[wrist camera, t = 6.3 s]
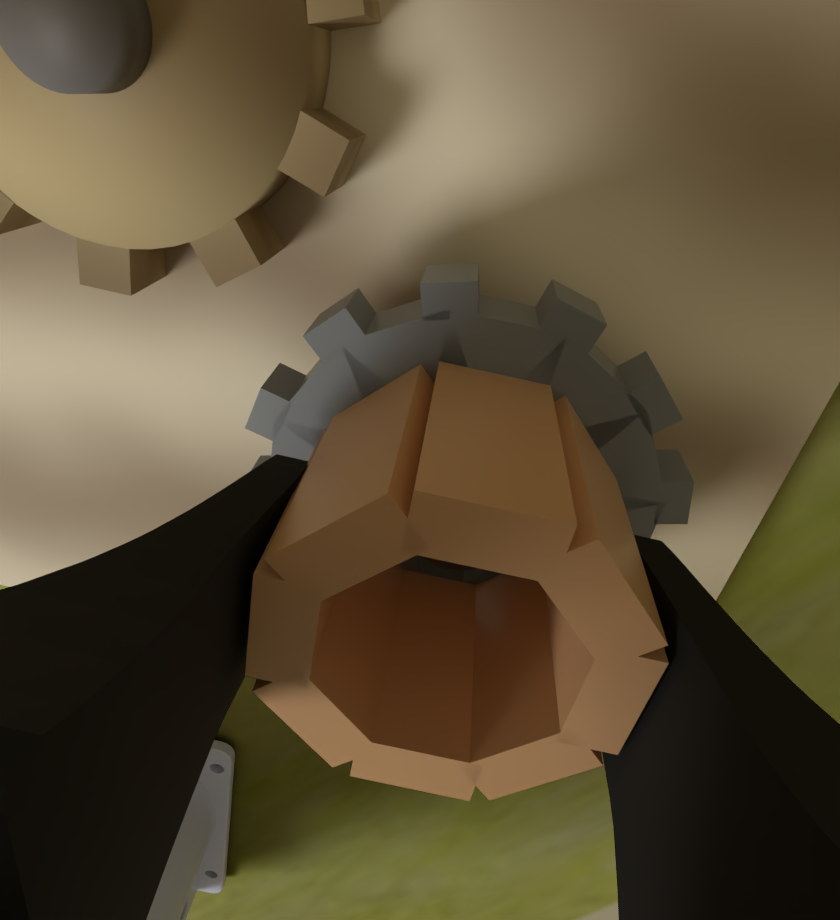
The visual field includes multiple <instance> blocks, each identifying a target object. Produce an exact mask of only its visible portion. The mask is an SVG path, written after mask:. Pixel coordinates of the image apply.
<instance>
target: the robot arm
mask: <svg viewBox="0 0 840 920" xmlns="http://www.w3.org/2000/svg"><path fill="white" fill-rule="evenodd" d="M307 463H308V461H305V460H301V459H296V458H292V457H287V456H283V455H278V454H276V455H274V456H273V457H271V458H270V459H268V460H266V461H265V462H263V463H262V464H260V465H259V466H257V467H256V468H254V469H253V470H251V471H250V472H248V473H247V474H245V475H244V476H242V477H241V478H239V479H238V480H236V481H235V482H233V483H232V484H230V485H228V486H227V487H225V488H224V489H222V490H221V491H219V492H217V493H216V494H214V495H213V496H211V497H209V498H208V499H206V500H205V501H203V502H201V503H200V504H198V505H196V506H195V507H193V508H192V509H190V510H188V511H186V512H185V513H183V514H181V515H179V516H177V517H175V518H174V519H172V520H170V521H168V522H166V523H165V524H163V525H161V526H159V527H157V528H155V529H154V530H152V531H150V532H148V533H146V534H144V535H142V536H140V537H138V538H135V539H133V540H131V541H129V542H127V543H125V544H123V545H120V546H118V547H116V548H113V549H111V550H109V551H106V552H104V553H102V554H99V555H97V556H95V557H92V558H90V559H87V560H85V561H82V562H80V563H77V564H74V565H72V566H69V567H66V568H63V569H60V570H57V571H55V572H52V573H49V574H46V575H43V576H41V577H38V578H35V579H32V580H29V581H26V582H24V583H21V584H18V585H15V586H12V587H8V588H5V589H2V590H0V920H185V919H186V917H187V914H188V911H189V909H190V906H191V904H192V901H193V899H194V896H195V893H196V891H197V890H200V891H204V892H209V893H219V892H221V891H222V889H223V887H224V884H225V881H226V869H227V855H228V842H229V828H230V815H231V802H232V788H233V775H234V762H235V752H234V749H233V748H232V747H231V746H230V745H229V744H227V743H224V742H221V741H217V740H214V739H215V737H216V735H217V732H218V730H219V728H220V726H221V724H222V722H223V719H224V717H225V715H226V713H227V711H228V709H229V707H230V705H231V703H232V701H233V699H234V697H235V695H236V693H237V691H238V689H239V687H240V685H241V683H242V681H243V679H244V677H245V669H246V657H247V645H248V632H249V620H250V607H251V595H252V583H253V574H254V572H255V570H256V567H257V565H258V563H259V561H260V559H261V557H262V555H263V553H264V551H265V549H266V547H267V545H268V543H269V541H270V539H271V537H272V535H273V533H274V531H275V529H276V527H277V525H278V523H279V521H280V518H281V516H282V514H283V512H284V510H285V508H286V506H287V504H288V502H289V500H290V498H291V496H292V494H293V493H294V491H295V490H296V488H297V486H298V484H299V482H300V480H301V478H302V476H303V474H304V472H305V471H306V469H307V467H308V465H307ZM634 537H635V540H636V544H637V547H638V550H639V553H640V556H641V560H642V563H643V566H644V569H645V573H646V576H647V579H648V582H649V585H650V589H651V592H652V595H653V598H654V601H655V605H656V608H657V611H658V614H659V617H660V621H661V624H662V627H663V630H664V634H665V637H666V640H667V643H668V646H665V647H664V649H665V653H666V656H667V659H668V662H669V664H668V665H667V667H666V669H665V671H664V673H663V674H662V676H661V678H660V680H659V682H658V683H657V685H656V687H655V689H654V691H653V693H652V694H651V696H650V698H649V700H648V702H647V703H646V705H645V707H644V709H643V711H642V712H641V714H640V716H639V718H638V720H637V721H636V723H635V725H634V727H633V729H632V730H631V732H630V734H629V736H628V738H627V739H626V741H625V743H624V745H623V747H622V748H621V750H620V752H619V754H618V755H615V754H611V753H606V752H602V753H603V759H604V765H605V771H606V777H607V783H608V789H609V795H610V802H611V810H612V818H613V826H614V840H615V856H616V871H617V887H618V907H619V908H618V909H619V920H840V724H839V723H838V722H836V721H835V720H834V719H833V718H832V717H831V716H830V715H828V714H827V713H826V712H825V711H824V710H823V709H822V708H821V707H819V706H818V705H817V704H816V703H815V702H814V701H813V700H811V699H810V698H809V697H808V696H807V695H806V694H805V693H804V692H803V691H802V690H801V689H800V688H799V687H798V686H796V685H795V684H794V683H793V682H792V681H791V680H790V679H789V678H788V677H787V676H786V675H785V674H784V673H783V672H782V671H781V670H780V669H779V668H778V667H777V666H776V665H775V664H774V663H773V662H772V661H771V660H770V659H769V658H768V657H767V656H766V655H765V654H764V653H763V652H762V651H761V650H760V649H759V648H758V646H757V645H756V644H755V643H754V642H753V641H752V640H751V639H750V638H749V637H748V636H747V635H746V634H745V633H744V632H743V631H742V629H741V628H740V627H739V626H738V625H737V624H736V623H735V622H734V621H733V620H732V618H731V617H730V616H729V615H728V614H727V613H726V612H725V611H724V610H723V608H722V607H721V606H720V605H719V604H718V603H717V602H716V601H715V599H714V598H713V597H712V596H711V595H710V594H709V593H708V591H707V590H706V589H705V588H704V587H703V586H702V585H701V583H700V582H699V581H698V580H697V579H696V578H695V577H694V575H693V574H692V573H691V572H690V571H689V570H688V569H687V567H686V566H685V565H684V564H683V563H682V562H681V561H680V560H679V558H678V557H677V556H676V555H675V554H674V553H673V552H672V551H671V550H670V549H669V548H668V547H667V546H666V545H665V544H664V543H663V542H662V541H660V540H656V539H651V538H647V537H642V536H638V535H634Z"/></svg>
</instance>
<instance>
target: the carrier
mask: <svg viewBox="0 0 840 920" xmlns="http://www.w3.org/2000/svg"><path fill="white" fill-rule="evenodd" d="M464 263H479V283H480V295H485V296H489V297H494V298H499V299H503V300H508V301H512V302H517V303H521V304H526V305H530V306H536V305H537V303H538V301H539V300H540V298H541V296H542V295H543V293H544V291H545V290H546V288H547V286H548V285H549V283H550V281H551V280H552V279H553V280H555V281H557V282H559V283H561V284H562V285H564V286H566V287H568V288H570V289H572V290H574V291H576V292H577V293H579V294H581V295H583V296H585V297H587V298H589V299H591V300H592V301H594V302H596V303H597V304H598V306H599V308H600V310H601V312H602V315H603V317H604V319H605V321H606V323H607V326H606V328H605V329H604V331H603V332H602V334H601V335H600V337H599V338H598V340H597V341H596V343H595V345H596V346H597V347H598V348H599V349H600V350H601V351H602V352H603V353H604V354H605V355H607V356H608V357H609V358H610V359H611V360H612V361H613V362H614V363H615V364H616V365H617V366H618V365H620V364H622V363H624V362H626V361H628V360H630V359H632V358H633V357H635V356H637V355H639V354H641V353H643V352H645V351H646V352H647V354H648V355H649V357H650V359H651V361H652V362H653V364H654V366H655V368H656V369H657V371H658V373H659V375H660V376H661V378H662V380H663V382H664V384H665V386H666V388H667V390H668V391H669V393H670V395H671V397H672V399H673V401H674V403H675V405H676V406H677V408H678V410H679V412H680V414H681V416H682V418H683V420H681V421H679V422H677V423H675V424H673V425H671V426H669V427H667V428H665V429H663V430H661V431H659V432H657V433H655V434H653V438H654V443H655V449H656V450H670V449H678V451H679V453H680V455H681V457H682V459H683V461H684V463H685V465H686V467H687V469H688V471H689V473H690V475H691V477H692V479H693V481H694V487H693V493H692V499H691V506H690V512H689V518H688V524H657V525H656V527H655V529H654V531H653V533H652V535H651V539H656V540H660V541H662V542H663V543H664V544H665V545H666V546H667V547H668V548H669V549H670V550H671V551H672V552H673V553H674V554H675V555H676V556H677V557H678V558H679V560H680V561H681V562H682V563H683V564H684V565H685V566H686V567H687V569H688V570H689V571H690V572H691V573H692V574H693V575H694V577H695V578H696V579H697V580H698V581H699V582H700V583H701V585H702V586H703V587H704V588H705V589H706V590H707V591H708V593H709V594H710V595H711V596H712V597H713V598H714V599H715V601H716V600H717V598H718V596H719V594H720V592H721V591H722V589H723V587H724V585H725V584H726V582H727V580H728V578H729V577H730V575H731V573H732V571H733V569H734V568H735V566H736V564H737V562H738V561H739V559H740V557H741V555H742V554H743V552H744V550H745V548H746V547H747V545H748V543H749V541H750V539H751V538H752V536H753V534H754V532H755V531H756V529H757V527H758V525H759V524H760V522H761V520H762V518H763V516H764V515H765V513H766V511H767V509H768V508H769V506H770V504H771V502H772V501H773V499H774V497H775V495H776V493H777V492H778V490H779V488H780V486H781V485H782V483H783V481H784V479H785V478H786V476H787V474H788V472H789V470H790V469H791V467H792V465H793V463H794V462H795V460H796V458H797V456H798V455H799V453H800V451H801V449H802V448H803V446H804V444H805V442H806V440H807V439H808V437H809V435H810V433H811V432H812V430H813V428H814V426H815V425H816V423H817V421H818V419H819V417H820V416H821V414H822V412H823V410H824V409H825V407H826V405H827V403H828V402H829V400H830V398H831V396H832V394H833V393H834V391H835V389H836V387H837V386H838V384H839V382H840V0H0V585H4V586H9V587H12V586H15V585H18V584H21V583H24V582H26V581H29V580H32V579H35V578H38V577H41V576H43V575H46V574H49V573H52V572H55V571H57V570H60V569H63V568H66V567H69V566H72V565H74V564H77V563H80V562H82V561H85V560H87V559H90V558H92V557H95V556H97V555H99V554H102V553H104V552H106V551H109V550H111V549H113V548H116V547H118V546H120V545H123V544H125V543H127V542H129V541H131V540H133V539H135V538H138V537H140V536H142V535H144V534H146V533H148V532H150V531H152V530H154V529H155V528H157V527H159V526H161V525H163V524H165V523H166V522H168V521H170V520H172V519H174V518H175V517H177V516H179V515H181V514H183V513H185V512H186V511H188V510H190V509H192V508H193V507H195V506H196V505H198V504H200V503H201V502H203V501H205V500H206V499H208V498H209V497H211V496H213V495H214V494H216V493H217V492H219V491H221V490H222V489H224V488H225V487H227V486H228V485H230V484H232V483H233V482H235V481H236V480H238V479H239V478H241V477H242V476H244V475H245V474H247V473H248V472H250V471H251V470H252V468H253V467H254V465H255V463H256V462H257V460H258V459H259V457H260V456H262V455H271V453H272V442H273V441H271V440H269V439H267V438H265V437H263V436H261V435H258V434H256V433H254V432H252V431H250V430H248V429H245V426H246V424H247V421H248V419H249V416H250V414H251V411H252V408H253V406H254V403H255V401H256V398H257V396H258V393H259V391H260V388H261V387H262V385H263V384H264V383H265V381H266V380H267V379H268V377H269V376H270V375H271V374H272V372H273V371H274V370H275V368H276V367H277V366H278V364H279V363H282V364H284V365H286V366H288V367H290V368H292V369H294V370H296V371H298V372H300V373H303V374H305V375H307V374H308V372H309V371H310V370H311V369H312V368H313V367H314V365H315V364H316V363H317V362H318V361H319V360H320V358H319V357H318V355H317V354H316V353H315V352H314V350H313V349H312V348H311V346H310V345H309V344H308V342H307V341H306V340H305V338H304V337H303V335H304V334H305V333H306V331H307V330H308V329H309V327H310V326H311V325H312V323H313V322H314V321H315V319H316V318H317V317H318V315H319V314H320V313H322V312H323V311H325V310H326V309H328V308H329V307H331V306H332V305H334V304H335V303H337V302H338V301H340V300H341V299H343V298H344V297H346V296H347V295H348V294H350V293H351V292H353V291H354V290H356V289H357V288H359V289H360V291H361V292H362V293H363V295H364V296H365V298H366V299H367V301H368V302H369V303H370V305H371V306H372V308H373V309H374V310H375V312H376V313H378V312H381V311H385V310H388V309H391V308H394V307H397V306H400V305H404V304H407V303H410V302H413V301H416V300H419V299H421V293H420V282H421V279H422V276H423V274H424V271H425V268H426V266H427V265H444V264H464ZM421 557H422V558H424V559H425V560H426V561H428V562H430V563H432V564H434V565H436V566H439V567H442V568H446V569H451V570H472V569H477V568H475V567H470V566H466V565H461V564H456V563H452V562H447V561H442V560H438V559H433V558H428V557H424V556H421Z"/></svg>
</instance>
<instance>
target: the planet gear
mask: <svg viewBox="0 0 840 920" xmlns="http://www.w3.org/2000/svg"><path fill="white" fill-rule="evenodd" d="M420 293H421V299H419V300H416V301H413V302H410V303H407V304H404V305H400V306H397V307H394V308H391V309H388V310H385V311H381V312H378V313H376V312H375V310H374V309H373V308H372V306H371V305H370V303H369V302H368V301H367V299H366V298H365V296H364V295H363V293H362V292H361V291H360V289H359V288H357V289H356V290H354V291H353V292H351V293H350V294H348V295H347V296H346V297H344V298H343V299H341V300H340V301H338V302H337V303H335V304H334V305H332V306H331V307H329V308H328V309H326V310H325V311H323V312H322V313H320V314H319V315H318V317H317V318H316V319H315V321H314V322H313V323H312V325H311V326H310V327H309V329H308V330H307V331H306V333H305V334H304V335H303V337H304V338H305V340H306V341H307V342H308V344H309V345H310V346H311V348H312V349H313V350H314V352H315V353H316V354H317V355H318V357H319V358H320V360H319V361H318V362H317V363H316V364H315V365H314V367H313V368H312V369H311V370H310V371H309V372H308V374H307V375H305V374H303V373H300V372H298V371H296V370H294V369H292V368H290V367H288V366H286V365H284V364H282V363H279V364H278V366H277V367H276V368H275V370H274V371H273V372H272V374H271V375H270V376H269V377H268V379H267V380H266V381H265V383H264V384H263V385H262V387H261V388H260V391H259V393H258V396H257V398H256V401H255V403H254V406H253V408H252V411H251V414H250V416H249V419H248V421H247V424H246V426H245V429H248V430H250V431H252V432H254V433H256V434H258V435H261V436H263V437H265V438H267V439H269V440H271V441H273V442H272V453H271V455H262V456H260V457H259V459H258V460H257V462H256V463H255V465H254V467H253V468H252V470H253V469H254V468H256V467H257V466H259V465H260V464H262V463H263V462H265V461H266V460H268V459H270V458H271V457H273V456H274V455H276V454H278V455H283V456H287V457H292V458H296V459H301V460H305V461H308V463H307V465H308V467H307V469H306V471H305V472H304V474H303V476H302V478H301V480H300V482H299V484H298V486H297V488H296V490H295V491H294V493H293V494H292V496H291V498H290V500H289V502H288V504H287V506H286V508H285V510H284V512H283V514H282V516H281V518H280V521H279V523H278V525H277V527H276V529H275V531H274V533H273V535H272V537H271V539H270V541H269V543H268V545H267V547H266V549H265V551H264V553H263V555H262V557H261V559H260V561H259V563H258V565H257V567H256V570H255V572H254V574H253V583H252V595H251V607H250V620H249V632H248V645H247V657H246V669H245V676H247V677H252V678H257V680H256V683H255V685H254V688H253V690H252V692H253V693H254V694H255V695H256V696H257V697H259V698H260V699H261V700H262V701H263V702H264V703H265V704H266V705H267V706H268V707H269V708H270V709H271V710H272V711H273V712H274V713H275V714H276V715H278V716H279V717H280V718H281V719H282V720H283V721H284V722H285V723H286V724H287V725H288V726H289V727H290V728H291V729H292V730H293V731H294V732H295V733H296V734H298V735H299V736H300V737H301V738H302V739H303V740H304V741H305V742H306V743H307V744H308V745H309V746H310V747H311V748H312V749H313V750H314V751H315V752H317V753H318V754H319V755H320V756H321V757H322V758H323V759H324V760H325V761H326V762H327V763H328V764H329V765H330V766H331V767H332V768H333V767H335V766H338V765H341V764H344V763H346V762H349V761H352V760H353V762H352V767H351V772H350V776H352V777H357V778H361V779H366V780H371V781H376V782H380V783H385V784H390V785H395V786H399V787H404V788H409V789H414V790H418V791H423V792H428V793H433V794H437V795H442V796H447V797H452V798H456V799H461V800H466V801H470V799H471V796H472V794H473V791H474V789H475V786H476V787H477V788H478V789H479V790H480V791H481V792H482V793H483V794H484V795H485V796H486V797H487V798H488V800H489V801H490V800H493V799H496V798H500V797H503V796H506V795H509V794H513V793H516V792H519V791H522V790H526V789H529V788H532V787H535V786H539V785H542V784H545V783H548V782H552V781H555V780H558V779H561V778H565V777H568V776H571V775H574V774H578V773H581V772H584V771H587V770H590V769H594V768H597V767H600V766H603V762H602V756H601V752H606V753H611V754H615V755H618V754H619V752H620V750H621V748H622V747H623V745H624V743H625V741H626V739H627V738H628V736H629V734H630V732H631V730H632V729H633V727H634V725H635V723H636V721H637V720H638V718H639V716H640V714H641V712H642V711H643V709H644V707H645V705H646V703H647V702H648V700H649V698H650V696H651V694H652V693H653V691H654V689H655V687H656V685H657V683H658V682H659V680H660V678H661V676H662V674H663V673H664V671H665V669H666V667H667V665H668V664H669V662H668V659H667V656H666V653H665V649H664V647H665V646H668V643H667V640H666V637H665V634H664V630H663V627H662V624H661V621H660V617H659V614H658V611H657V608H656V605H655V601H654V598H653V595H652V592H651V589H650V585H649V582H648V579H647V576H646V573H645V569H644V566H643V563H642V560H641V556H640V553H639V550H638V547H637V544H636V540H635V537H634V535H638V536H642V537H647V538H651V535H652V533H653V531H654V529H655V527H656V525H657V524H688V518H689V512H690V506H691V499H692V493H693V487H694V481H693V479H692V477H691V475H690V473H689V471H688V469H687V467H686V465H685V463H684V461H683V459H682V457H681V455H680V453H679V451H678V449H670V450H656V449H655V443H654V438H653V434H655V433H657V432H659V431H661V430H663V429H665V428H667V427H669V426H671V425H673V424H675V423H677V422H679V421H681V420H683V418H682V416H681V414H680V412H679V410H678V408H677V406H676V405H675V403H674V401H673V399H672V397H671V395H670V393H669V391H668V390H667V388H666V386H665V384H664V382H663V380H662V378H661V376H660V375H659V373H658V371H657V369H656V368H655V366H654V364H653V362H652V361H651V359H650V357H649V355H648V354H647V352H646V351H645V352H643V353H641V354H639V355H637V356H635V357H633V358H632V359H630V360H628V361H626V362H624V363H622V364H620V365H618V366H617V365H616V364H615V363H614V362H613V361H612V360H611V359H610V358H609V357H608V356H607V355H605V354H604V353H603V352H602V351H601V350H600V349H599V348H598V347H597V346H596V345H595V343H596V341H597V340H598V338H599V337H600V335H601V334H602V332H603V331H604V329H605V328H606V326H607V323H606V321H605V319H604V317H603V315H602V312H601V310H600V308H599V306H598V304H597V303H596V302H594V301H592V300H591V299H589V298H587V297H585V296H583V295H581V294H579V293H577V292H576V291H574V290H572V289H570V288H568V287H566V286H564V285H562V284H561V283H559V282H557V281H555V280H553V279H552V280H551V281H550V283H549V285H548V286H547V288H546V290H545V291H544V293H543V295H542V296H541V298H540V300H539V301H538V303H537V305H536V306H530V305H526V304H521V303H517V302H512V301H508V300H503V299H499V298H494V297H489V296H485V295H480V283H479V263H464V264H444V265H427V266H426V268H425V271H424V274H423V276H422V279H421V282H420ZM421 556H424V557H428V558H433V559H438V560H442V561H447V562H452V563H456V564H461V565H466V566H470V567H475V568H477V569H472V570H451V569H446V568H442V567H439V566H436V565H434V564H432V563H430V562H428V561H426V560H425V559H424V558H422V557H421Z"/></svg>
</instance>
